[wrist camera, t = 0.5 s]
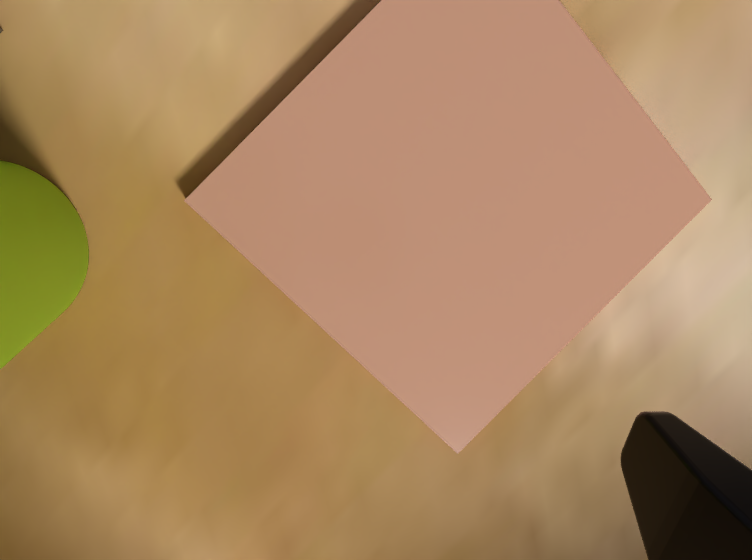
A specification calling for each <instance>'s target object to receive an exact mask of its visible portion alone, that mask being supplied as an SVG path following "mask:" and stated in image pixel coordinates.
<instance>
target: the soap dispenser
mask: <svg viewBox="0 0 752 560" xmlns="http://www.w3.org/2000/svg"><path fill="white" fill-rule="evenodd" d="M88 261H89V248H88V240H87V236H86V232H85V228H84V226H83V223H82V221H81V219H80V216H79V215H78V213H77V211H76V209H75V208H74V206H73V205H72V203H71V202H70V201H69V199H68V198H67V197H66V196H65V195H64V194H63V193H62V192H61V191H60V190H59V189H58V188H57V187H56V186H55V185H54V184H52V183H51V182H50V181H49V180H47V179H46V178H44V177H43V176H41V175H39V174H38V173H36V172H34V171H32V170H30V169H28V168H25V167H23V166H20V165H17V164H14V163H10V162H6V161H1V160H0V369H1V368H2V367H4V366H5V365H6V364H7V363H8V362H9V361H10V360H11V359H12V358H13V357H15V356H16V355H17V354H18V353H19V352H20V351H21V350H22V349H23V348H24V347H25V346H27V345H28V344H29V343H30V342H31V341H32V340H33V339H34V338H35V337H36V336H38V335H39V334H40V333H41V332H42V331H43V330H44V329H45V328H46V327H47V326H49V325H50V324H51V323H52V322H53V321H54V320H55V319H56V318H57V317H58V316H60V315H61V314H62V313H63V312H64V311H65V310H66V309H67V308H68V307H69V306H70V304H71V303H72V302H73V301H74V299H75V298H76V296H77V295H78V293H79V291H80V289H81V287H82V285H83V283H84V280H85V277H86V273H87V269H88Z"/></svg>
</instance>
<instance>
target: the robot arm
mask: <svg viewBox="0 0 752 560" xmlns="http://www.w3.org/2000/svg"><path fill="white" fill-rule="evenodd" d="M621 467H622V471H623V475H624V478H625V482H626V485H627V489H628V492H629V495H630V499H631V502H632V506H633V509H634V512H635V516H636V519H637V523H638V526H639V529H640V533H641V536H642V540H643V543H644V546H645V550H646V553H647V556H648V559H649V560H752V470H751V469H749V468H748V467H746V466H745V465H744V464H742V463H741V462H739V461H738V460H737V459H735V458H734V457H732V456H731V455H730V454H728V453H727V452H725V451H724V450H723V449H721V448H720V447H718V446H717V445H716V444H714V443H713V442H711V441H710V440H709V439H707V438H706V437H704V436H703V435H702V434H700V433H699V432H697V431H696V430H694V429H693V428H692V427H690V426H689V425H687V424H686V423H685V422H683V421H682V420H680V419H679V418H678V417H676V416H675V415H673V414H671V413H669V412H641V413H640V414H639V415H638V416H637V417H636V418H635V421H634V423H633V425H632V428H631V430H630V433H629V435H628V437H627V440H626V442H625V445H624V447H623V449H622V453H621Z"/></svg>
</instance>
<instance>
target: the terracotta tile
mask: <svg viewBox="0 0 752 560" xmlns="http://www.w3.org/2000/svg"><path fill="white" fill-rule="evenodd" d="M711 200H712V199H711V198H710V196H709V195H708V194H707V193H706V191H705V190H704V189H703V187H702V186H701V185H700V183H699V182H698V181H697V179H696V178H695V177H694V176H693V174H692V173H691V172H690V170H689V169H688V168H687V166H686V165H685V164H684V163H683V161H682V160H681V159H680V157H679V156H678V155H677V153H676V152H675V151H674V149H673V148H672V147H671V146H670V144H669V143H668V142H667V140H666V139H665V138H664V136H663V135H662V134H661V132H660V131H659V130H658V129H657V127H656V126H655V125H654V123H653V122H652V121H651V119H650V118H649V117H648V115H647V114H646V113H645V112H644V110H643V109H642V108H641V106H640V105H639V104H638V102H637V101H636V100H635V99H634V97H633V96H632V95H631V93H630V92H629V91H628V89H627V88H626V87H625V85H624V84H623V83H622V82H621V80H620V79H619V78H618V76H617V75H616V74H615V72H614V71H613V70H612V68H611V67H610V66H609V65H608V63H607V62H606V61H605V59H604V58H603V57H602V55H601V54H600V53H599V52H598V50H597V49H596V48H595V46H594V45H593V44H592V42H591V41H590V40H589V38H588V37H587V36H586V35H585V33H584V32H583V31H582V29H581V28H580V27H579V25H578V24H577V23H576V21H575V20H574V19H573V18H572V16H571V15H570V14H569V12H568V11H567V10H566V8H565V7H564V6H563V4H562V3H561V2H560V1H559V0H381V1H380V2H379V3H378V4H377V5H376V6H375V7H374V8H373V9H372V10H371V11H370V12H369V13H368V14H367V15H366V16H365V17H364V18H363V19H362V21H361V22H360V23H359V24H358V25H357V26H356V27H355V28H354V29H353V30H352V31H351V32H350V33H349V34H348V35H347V36H346V37H345V38H344V39H343V40H342V41H341V42H340V43H339V44H338V45H337V46H336V47H335V48H334V49H333V50H332V51H331V52H330V53H329V54H328V55H327V56H326V57H325V58H324V59H323V60H322V61H321V62H320V63H319V64H318V65H317V66H316V67H315V68H314V69H313V70H312V71H311V72H310V73H309V74H308V75H307V76H306V77H305V78H304V79H303V80H302V81H301V82H300V83H299V84H298V85H297V87H296V88H295V89H294V90H293V91H292V92H291V93H290V94H289V95H288V96H287V97H286V98H285V99H284V100H283V101H282V102H281V103H280V104H279V105H278V106H277V107H276V108H275V109H274V110H273V111H272V112H271V113H270V114H269V115H268V116H267V117H266V118H265V119H264V120H263V121H262V122H261V123H260V124H259V125H258V126H257V127H256V128H255V129H254V130H253V131H252V132H251V133H250V134H249V135H248V136H247V137H246V138H245V139H244V140H243V141H242V142H241V143H240V144H239V145H238V146H237V147H236V148H235V149H234V150H233V151H232V152H231V154H230V155H229V156H228V157H227V158H226V159H225V160H224V161H223V162H222V163H221V164H220V165H219V166H218V167H217V168H216V169H215V170H214V171H213V172H212V173H211V174H210V175H209V176H208V177H207V178H206V179H205V180H204V181H203V182H202V183H201V184H200V185H199V186H198V187H197V188H196V189H195V190H194V191H193V192H192V193H191V194H190V195H189V196H188V197H187V198H186V199H185V200H184V201H185V202H186V203H187V204H188V205H189V206H190V207H191V208H192V209H194V210H195V211H196V212H197V213H198V214H199V215H200V216H201V217H202V218H203V219H204V220H205V221H207V222H208V223H209V224H210V225H211V226H212V227H213V228H214V229H215V230H216V231H217V232H218V233H220V234H221V235H222V236H223V237H224V238H225V239H226V240H227V241H228V242H229V243H230V244H231V245H232V246H234V247H235V248H236V249H237V250H238V251H239V252H240V253H241V254H242V255H243V256H244V257H245V258H247V259H248V260H249V261H250V262H251V263H252V264H253V265H254V266H255V267H256V268H257V269H258V270H260V271H261V272H262V273H263V274H264V275H265V276H266V277H267V278H268V279H269V280H270V281H271V282H273V283H274V284H275V285H276V286H277V287H278V288H279V289H280V290H281V291H282V292H283V293H284V294H285V295H287V296H288V297H289V298H290V299H291V300H292V301H293V302H294V303H295V304H296V305H297V306H298V307H300V308H301V309H302V310H303V311H304V312H305V313H306V314H307V315H308V316H309V317H310V318H311V319H313V320H314V321H315V322H316V323H317V324H318V325H319V326H320V327H321V328H322V329H323V330H324V331H326V332H327V333H328V334H329V335H330V336H331V337H332V338H333V339H334V340H335V341H336V342H337V343H338V344H340V345H341V346H342V347H343V348H344V349H345V350H346V351H347V352H348V353H349V354H350V355H351V356H353V357H354V358H355V359H356V360H357V361H358V362H359V363H360V364H361V365H362V366H363V367H364V368H366V369H367V370H368V371H369V372H370V373H371V374H372V375H373V376H374V377H375V378H376V379H377V380H378V381H380V382H381V383H382V384H383V385H384V386H385V387H386V388H387V389H388V390H389V391H390V392H391V393H393V394H394V395H395V396H396V397H397V398H398V399H399V400H400V401H401V402H402V403H403V404H404V405H406V406H407V407H408V408H409V409H410V410H411V411H412V412H413V413H414V414H415V415H416V416H417V417H419V418H420V419H421V420H422V421H423V422H424V423H425V424H426V425H427V426H428V427H429V428H430V429H431V430H433V431H434V432H435V433H436V434H437V435H438V436H439V437H440V438H441V439H442V440H443V441H444V442H446V443H447V444H448V445H449V446H450V447H451V448H452V449H453V450H454V451H455V452H456V453H457V454H458V453H459V452H460V451H461V450H462V449H463V448H464V447H465V446H466V445H467V444H468V443H469V442H470V441H471V440H472V439H473V438H474V437H475V436H476V435H477V434H478V433H479V432H480V431H481V430H482V429H483V428H484V427H485V426H486V425H487V424H488V423H489V422H490V421H491V420H492V419H493V418H494V417H495V416H496V415H497V414H498V413H499V412H500V411H501V410H502V409H503V408H504V407H505V406H506V405H507V404H508V403H509V402H510V401H511V400H512V399H513V398H514V397H515V396H516V395H517V394H518V393H519V392H520V391H521V390H522V389H523V388H524V387H525V386H526V385H527V384H528V383H529V382H530V381H531V380H532V379H533V378H534V377H535V376H536V375H537V374H538V373H539V372H540V371H541V370H542V369H543V368H544V367H545V366H546V365H547V364H548V363H549V362H550V361H551V360H552V359H553V358H554V357H555V356H556V355H557V354H558V353H559V352H560V351H561V350H562V349H563V348H564V347H565V346H566V345H567V344H568V343H569V342H570V341H571V340H572V339H573V338H574V337H575V336H576V335H577V334H578V333H579V332H580V331H581V330H582V329H583V328H584V327H585V326H586V325H587V324H588V323H589V322H590V321H591V320H592V319H593V318H594V317H595V316H596V315H597V314H598V313H599V312H600V311H601V310H602V309H603V308H604V307H605V306H606V305H607V304H608V303H609V302H610V301H611V300H612V299H613V298H614V297H615V296H616V295H617V294H618V293H619V292H620V291H621V290H622V289H623V288H624V287H625V286H626V285H627V284H628V283H629V282H630V281H631V280H632V279H633V278H634V277H635V276H636V275H637V274H638V273H639V272H640V271H641V270H642V269H643V268H644V267H645V266H646V265H647V264H648V263H649V262H650V261H651V260H652V259H653V258H654V257H655V256H656V255H657V254H658V253H659V252H660V251H661V250H662V249H663V248H664V247H665V246H666V245H667V244H668V243H669V242H670V241H671V240H672V239H673V238H674V237H675V236H676V235H677V234H678V233H679V232H680V231H681V230H682V229H683V228H684V227H685V226H686V225H687V224H688V223H689V222H690V221H691V220H692V219H693V218H694V217H695V216H696V215H697V214H698V213H699V212H700V211H701V210H702V209H703V208H704V207H705V206H706V205H707V204H708V203H709V202H710V201H711Z"/></svg>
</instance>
